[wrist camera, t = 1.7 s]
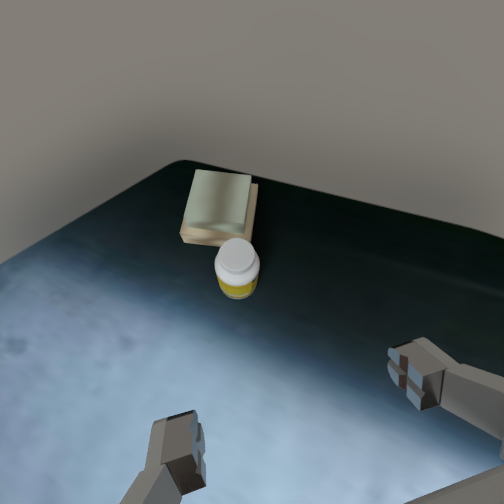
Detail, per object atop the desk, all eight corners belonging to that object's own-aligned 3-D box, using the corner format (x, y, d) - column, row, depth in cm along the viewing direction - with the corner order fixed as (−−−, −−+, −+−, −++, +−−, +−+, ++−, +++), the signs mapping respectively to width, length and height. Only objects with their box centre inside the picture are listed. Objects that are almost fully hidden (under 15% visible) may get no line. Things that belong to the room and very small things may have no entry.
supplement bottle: (257, 300, 36) (261, 278, 27) (218, 299, 36) (209, 277, 27) (257, 263, 38) (261, 232, 29) (220, 263, 38) (213, 231, 29)
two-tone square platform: (184, 242, 39) (174, 222, 34) (197, 189, 43) (190, 163, 38) (249, 250, 39) (250, 231, 33) (257, 195, 43) (258, 170, 37)
